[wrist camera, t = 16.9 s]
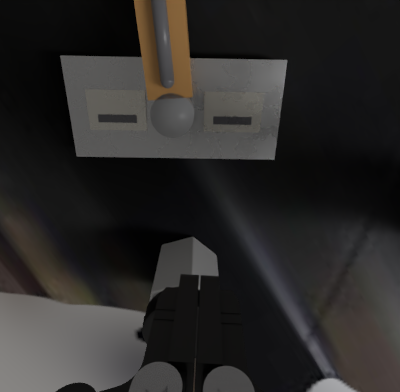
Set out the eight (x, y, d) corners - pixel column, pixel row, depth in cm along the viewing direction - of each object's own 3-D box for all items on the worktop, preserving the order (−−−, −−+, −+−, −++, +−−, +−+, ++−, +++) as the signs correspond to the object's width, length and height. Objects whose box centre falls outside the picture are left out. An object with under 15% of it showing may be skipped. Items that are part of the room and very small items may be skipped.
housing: (280, 61, 29) (288, 59, 27) (269, 153, 33) (275, 160, 31) (71, 57, 29) (58, 55, 26) (85, 150, 33) (75, 157, 30)
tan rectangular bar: (195, 130, 29) (195, 139, 25) (157, 133, 29) (151, 142, 25) (182, -37, 23) (179, -60, 19) (135, -33, 23) (123, -55, 20)
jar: (143, 261, 39) (122, 334, 28) (181, 225, 37) (174, 288, 26) (190, 294, 42) (186, 373, 31) (228, 262, 40) (239, 334, 28)
